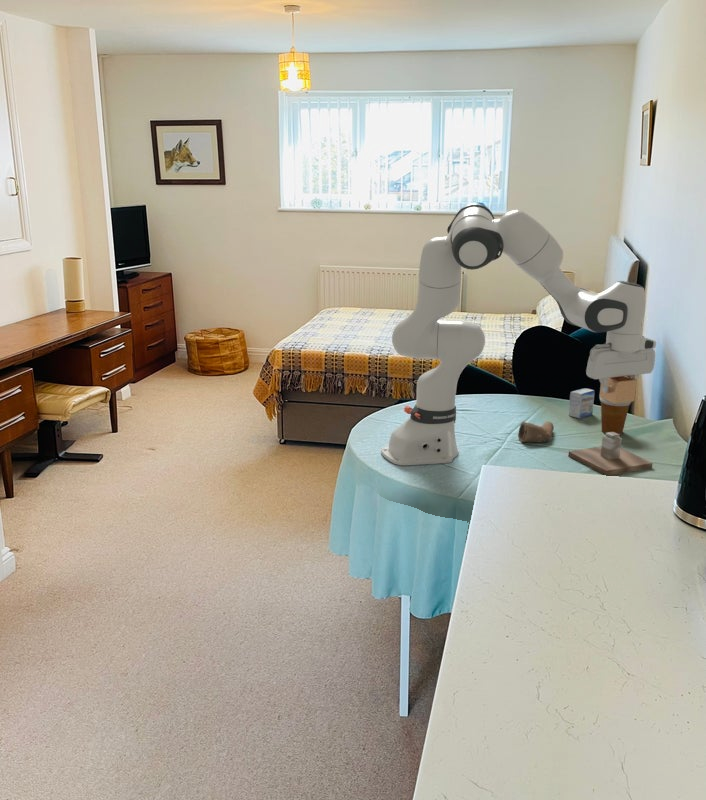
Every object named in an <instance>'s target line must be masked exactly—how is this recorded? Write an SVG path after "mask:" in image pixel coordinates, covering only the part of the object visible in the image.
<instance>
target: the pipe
mask: <svg viewBox="0 0 706 800" xmlns="http://www.w3.org/2000/svg"><path fill="white" fill-rule="evenodd" d="M554 428H555V427H554V424H553V422H551V421H546V422H544V423H543V424H542V425H541V426H539V425H537V424H534V423H531V422H527V421H521V423H520V426H519V429H518V433H517V434H518V435H517V436H518V441H519V442H520V443H522V444H523V443H544V442H550V441H551V439H552V435H553V432H554Z"/></svg>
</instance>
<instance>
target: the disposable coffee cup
mask: <svg viewBox="0 0 706 800" xmlns="http://www.w3.org/2000/svg"><path fill="white" fill-rule="evenodd" d="M599 401H600V410H601V411H600V413H601V414H600V415H601V416H600V418H601V420H600V421H601V432H602V433H604V434H606V433H608V432H615V433H617V434H619V435H622V434H623V433H624V432H623V431H624V427H625V423H626V419H627V415H628V411H629V409H630V405H631V403H632V402H624V403H616V404H615V403H612V402H610V401H608V400H605V399H603V398H600V397H599Z"/></svg>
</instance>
